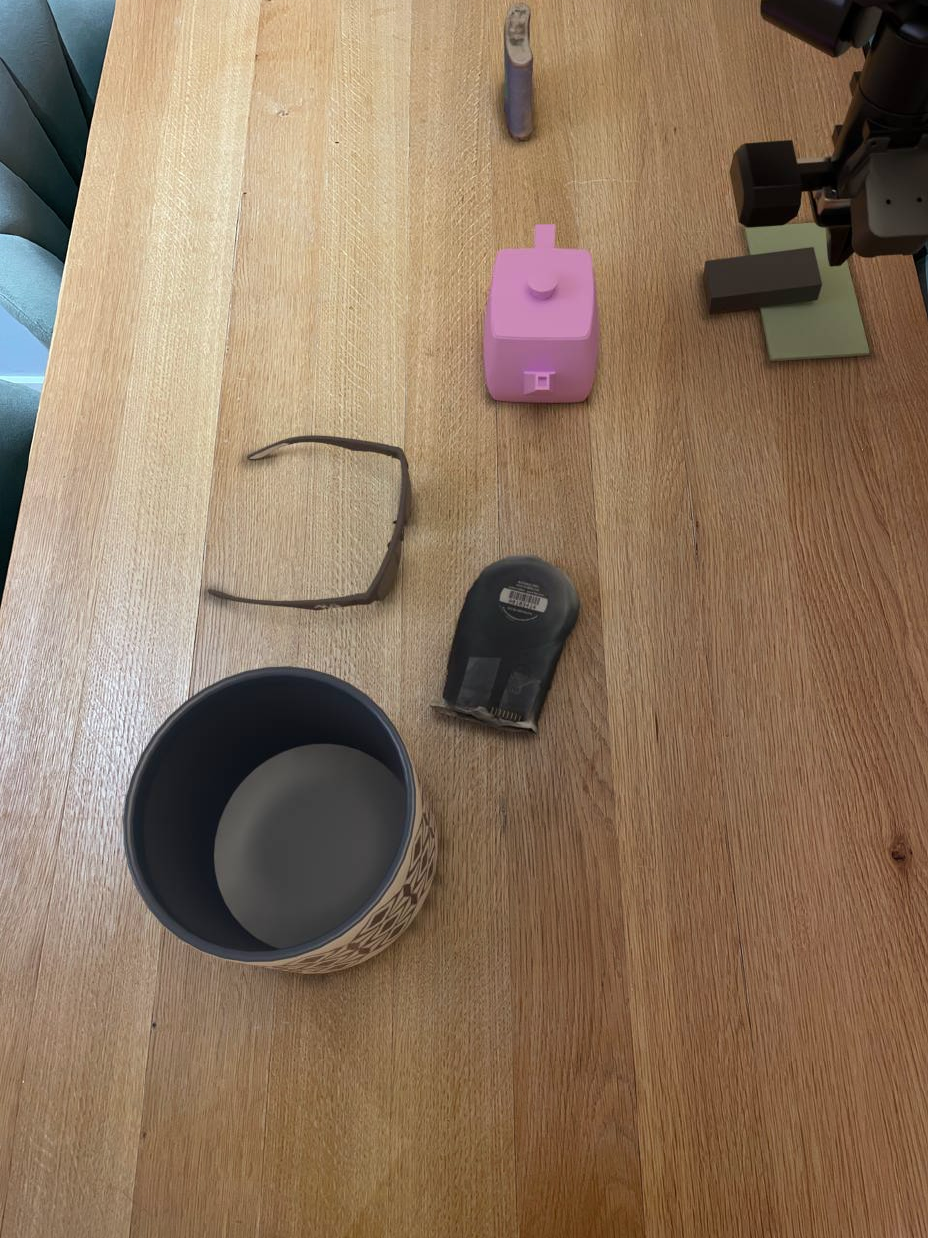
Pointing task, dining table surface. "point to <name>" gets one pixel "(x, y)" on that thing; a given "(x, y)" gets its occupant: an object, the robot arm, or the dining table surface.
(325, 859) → the planter
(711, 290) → the dark grey rectangular prism
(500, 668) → the electronic device
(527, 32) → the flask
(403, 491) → the sunglasses
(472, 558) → the dining table surface
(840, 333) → the mat
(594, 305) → the teapot
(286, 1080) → the dining table surface
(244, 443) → the dining table surface
